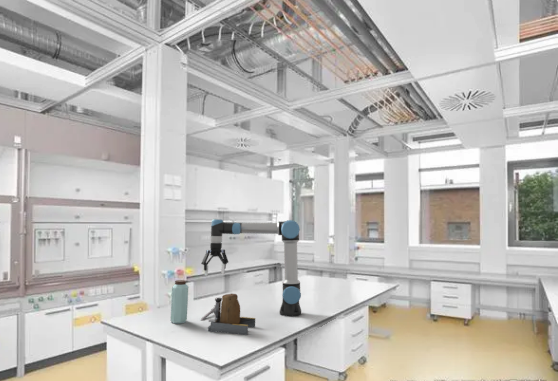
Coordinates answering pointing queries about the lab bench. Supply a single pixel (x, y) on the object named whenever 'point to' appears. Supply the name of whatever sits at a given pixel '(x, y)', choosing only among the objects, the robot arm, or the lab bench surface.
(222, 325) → the bay
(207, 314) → the caliper
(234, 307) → the brown stone
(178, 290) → the water bottle
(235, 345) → the lab bench surface
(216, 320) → the bar
